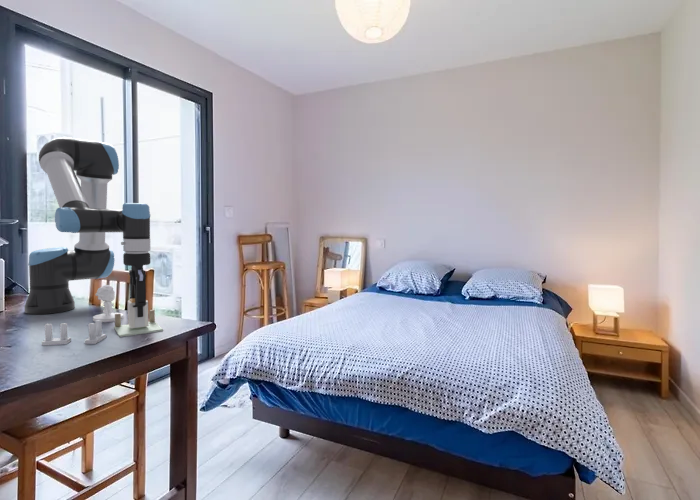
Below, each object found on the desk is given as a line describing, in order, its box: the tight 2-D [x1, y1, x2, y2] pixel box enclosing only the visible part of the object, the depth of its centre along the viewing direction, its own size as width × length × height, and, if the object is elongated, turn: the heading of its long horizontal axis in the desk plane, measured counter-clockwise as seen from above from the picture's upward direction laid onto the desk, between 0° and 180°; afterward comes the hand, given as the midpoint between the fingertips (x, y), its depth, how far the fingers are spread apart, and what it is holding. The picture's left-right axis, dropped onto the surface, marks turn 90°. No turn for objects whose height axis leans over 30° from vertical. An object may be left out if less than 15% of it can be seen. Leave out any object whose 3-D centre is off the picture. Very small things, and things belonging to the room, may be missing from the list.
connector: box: [127, 298, 149, 329], centre depth 125 cm, size 5×5×9 cm
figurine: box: [92, 284, 125, 323], centre depth 137 cm, size 9×9×12 cm
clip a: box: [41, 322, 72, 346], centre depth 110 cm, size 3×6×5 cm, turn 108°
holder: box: [113, 309, 164, 338], centre depth 125 cm, size 12×12×5 cm
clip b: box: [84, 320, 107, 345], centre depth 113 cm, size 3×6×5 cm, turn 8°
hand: (138, 324), depth 125 cm, fingers closed on connector, 5 cm apart
